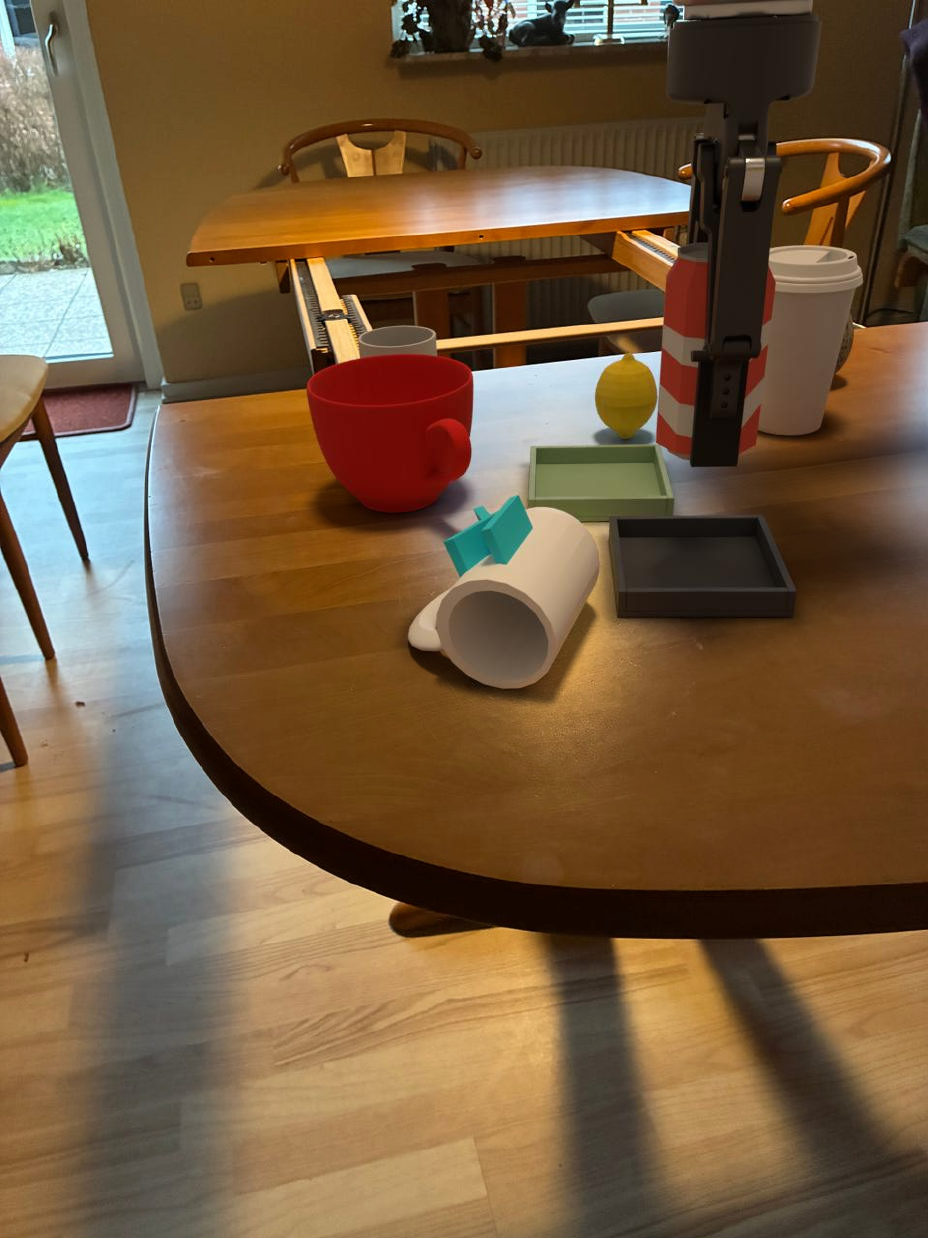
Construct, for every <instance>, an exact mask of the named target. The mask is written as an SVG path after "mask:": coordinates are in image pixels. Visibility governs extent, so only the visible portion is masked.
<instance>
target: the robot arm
mask: <svg viewBox="0 0 928 1238" xmlns="http://www.w3.org/2000/svg"><path fill="white" fill-rule="evenodd" d="M671 3H673V4H674V5H675V7H676V8H683V13H682V15H683V17H682V21H674V22H673V25H672V26H673V28H669V29H668V44H667V62H666V63H667V64H666V78H665V79H666V81H665V93H666V96H667V98H668V99H669V100H670V101H671V102H674V103H678V104H688V105H707V107H706V113H705V119H704V120H705V121H704V126H703V133H695V134H694V136H693V139H692V140H691V146H690V147H691V149H690V159H689V160H690V161H689V162H690V167H691V183H690V193H689V209H688V218H687V229H686V239H685V240H686V242H685V245H689V244H693V243H704V242H708V263H707V289H706V315H705V341H704V346H703V349H702V350H693V351H691V362H698V372H697V383H696V395H695V407H694V418H693V430H692V442H691V453H690V460H689V464H690V467H691V468H737V467H738V463H739V456H740V454H739V446H740V437H741V429H742V420H743V411H744V402H745V394H746V385H747V376H748V367H749V361H750V359H755V358H758V356H759V355H760V352H761V347H762V344H761V333H762V323H763V313H764V303H765V293H766V284H767V274H768V264H769V254H770V249H771V243H772V233H773V232H772V231H773V223H774V222H773V221H774V213H775V205H776V199H777V194H778V189H779V188H778V187H779V182H780V177H781V175H782V173H783V163H782V157H781V155H780V154H777V153H778V151H777V150H778V144H777V141H776V140H769V123H770V121H769V120H770V116H769V111H770V105H771V104H772V103H773V102H777V101H779V102H780V101H782V102H783V101H784V102H785V101H794V100H798V99H803V98H804V97H806V96H808V95H809V94H810V93H811V91H812V90H813V88H814V85H815V79H816V73H817V72H816V71H817V65H818V64H817V63H818V56H819V49H820V48H819V47H820V41H821V40H820V39H821V33H822V24H823V21H821V20H820V21H819V14H817V13H816V14H812V11H813V3H814V0H671ZM729 335H740V336H729Z"/></svg>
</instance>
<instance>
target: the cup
mask: <svg viewBox="0 0 928 1238" xmlns="http://www.w3.org/2000/svg"><path fill="white" fill-rule="evenodd" d="M357 344H358V345H357V346H358V354H359V358H364V357H371V356H379V355H391V354H424V355H433V356H438V348H437V332H435V330H433V329H431V328H429V327H424V326H417V325H393V326H384V327H379V328H375V329H371V330H368V331H365V332H363V333H362V334H360V335H359V336H358V337H357Z"/></svg>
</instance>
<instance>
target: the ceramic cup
mask: <svg viewBox="0 0 928 1238" xmlns="http://www.w3.org/2000/svg"><path fill="white" fill-rule="evenodd" d="M474 388H475V387H474V376H473V371H472V369H471V368H470V367H469V366H468V365H467V364H465V363H463V362H461V361H459V360H456V359H453V358H450V357H445V356H440V355H437V356H433V355H424V354H391V355H379V356H371V357H364V358H360V357H359V358H354V359H349V360H346V361H342V362H339V363H336V364H333V365H330V366H328V367H325V368H323V369H322V370H319V371H317V372H316V373H315V374H313V375H312V376H311V377H310V378H309V380H308V381H307V384H306V398H307V403H308V408H309V413H310V417H311V422H312V426H313V430H314V433H315V434H314V435H315V437H316V440H317V443H318V446H319V449H320V451H321V454H322V456H323V458H324V460H325V462H326V464H327V466H328V468H329V470H330V471H331V473H332V474H333V476H334V477H335V478H336V480H337V481H338V482H339V483H340V484H341V485H342V486H343V487H344V488H345V489H346V490H347V491H348V492H349V493H350V494H351V495H352V496H354V497H355V498H356V499H357V500H358V501H359V502H361V504H362V505H363V506H364V507H366V508H367V509H369V510H373V511H375V512H376V511H377V512H379V513H390V514H394V513H395V514H397V513H408V512H413V511H417V510H421V509H424V508H427V507H429V506H431V505H432V504H434V503H435V502H436V501H437V500H438V499H439V498H440V496H441V494H442V493H443V492H444V491H445V490H446V489H447V487H448V486H449V485H450V484H451V483H452V482H455V481H457V480H460V478H462V477H463V476H464V475H465V474H466V473H467V471H468V470H469V467H470V465H471V461H472V455H473V453H472V452H473V451H472V442H471V432H472V426H473V414H474V391H475V390H474Z"/></svg>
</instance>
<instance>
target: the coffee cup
mask: <svg viewBox="0 0 928 1238" xmlns="http://www.w3.org/2000/svg"><path fill="white" fill-rule="evenodd" d="M768 265H769V267H770V270H771V272H772V275H773V277H774V279H775V282H776V286H775V294H774V302H773V311H772V319H771V327H770V335H769V343H768V351H767V359H766V367H765V376H764V384H763V392H762V400H761V408H760V416H759V424H758V432H759V431H760V432H762V433H766V434H771V435H777V436H803V435H808V434H811V433H814V432H816V431H818V430H819V429H820V428H821V426H822V422H823V418H824V416H825V415H824V414H825V411H826V408H827V407H826V406H827V403H828V399H829V395H830V391H831V387H832V382H833V379H834V376H835V375H834V371H835V367H836V363H837V359H838V355H839V351H840V347H841V343H842V339H843V336H844V332H845V328H846V324H847V320H848V316H849V312H850V313H851V308H852V304H853V300H854V297H855V293H856V289H857V288H858V287H861V286H862V284H863V283H864V279H863V278H864V277H863V272H862V268H861V267H860V265H858V256H857V253H856V252H854V251H852V250H850V249H845V248H843V247H842V248H841V247H835V246H829V245H827V246H826V245H811V244H809V245H807V244H805V245H803V244H802V245H785V246H777V247H770V254H769V264H768Z"/></svg>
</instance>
